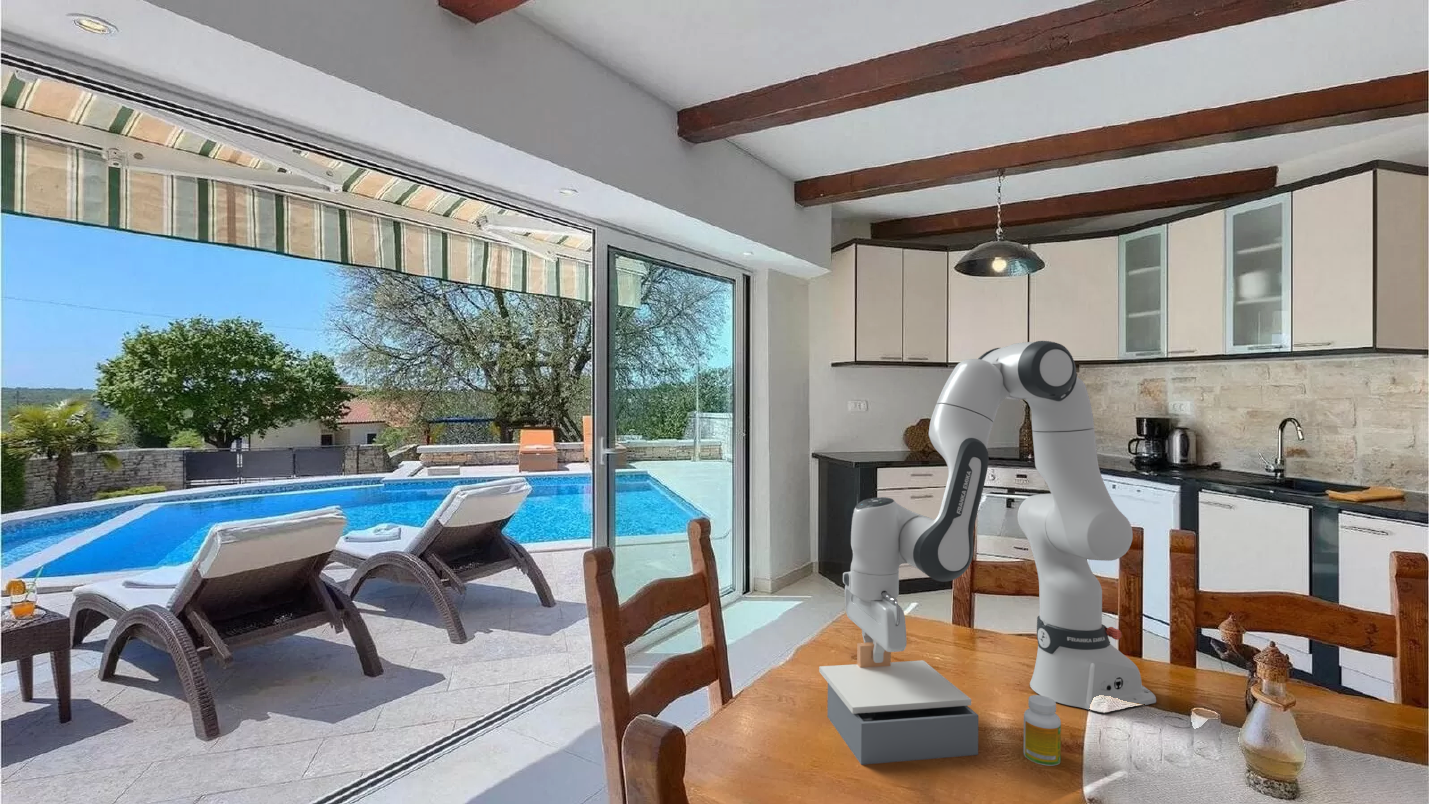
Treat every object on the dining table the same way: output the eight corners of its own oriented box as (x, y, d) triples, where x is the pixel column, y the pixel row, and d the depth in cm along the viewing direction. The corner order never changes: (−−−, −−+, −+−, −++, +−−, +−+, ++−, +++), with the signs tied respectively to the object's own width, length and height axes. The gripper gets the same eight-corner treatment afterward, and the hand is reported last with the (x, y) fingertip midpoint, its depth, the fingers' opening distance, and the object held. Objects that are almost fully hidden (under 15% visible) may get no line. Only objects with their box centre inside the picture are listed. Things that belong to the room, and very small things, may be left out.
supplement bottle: (1065, 771, 103) (1065, 709, 103) (1028, 767, 104) (1028, 706, 104) (1054, 753, 108) (1055, 694, 108) (1019, 749, 109) (1020, 691, 110)
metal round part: (869, 722, 117) (870, 705, 117) (878, 732, 114) (878, 715, 114) (850, 723, 117) (850, 707, 117) (858, 734, 113) (858, 716, 113)
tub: (930, 712, 122) (930, 675, 122) (978, 758, 107) (978, 715, 107) (827, 719, 119) (827, 681, 119) (861, 768, 103) (861, 723, 103)
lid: (923, 665, 126) (923, 639, 126) (971, 705, 110) (971, 675, 110) (819, 671, 123) (819, 645, 123) (852, 713, 106) (852, 682, 106)
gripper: (916, 600, 114) (915, 680, 114) (868, 570, 134) (868, 638, 134) (881, 601, 113) (881, 682, 113) (839, 571, 133) (838, 640, 133)
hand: (873, 658), depth 124 cm, fingers closed on lid, 2 cm apart
